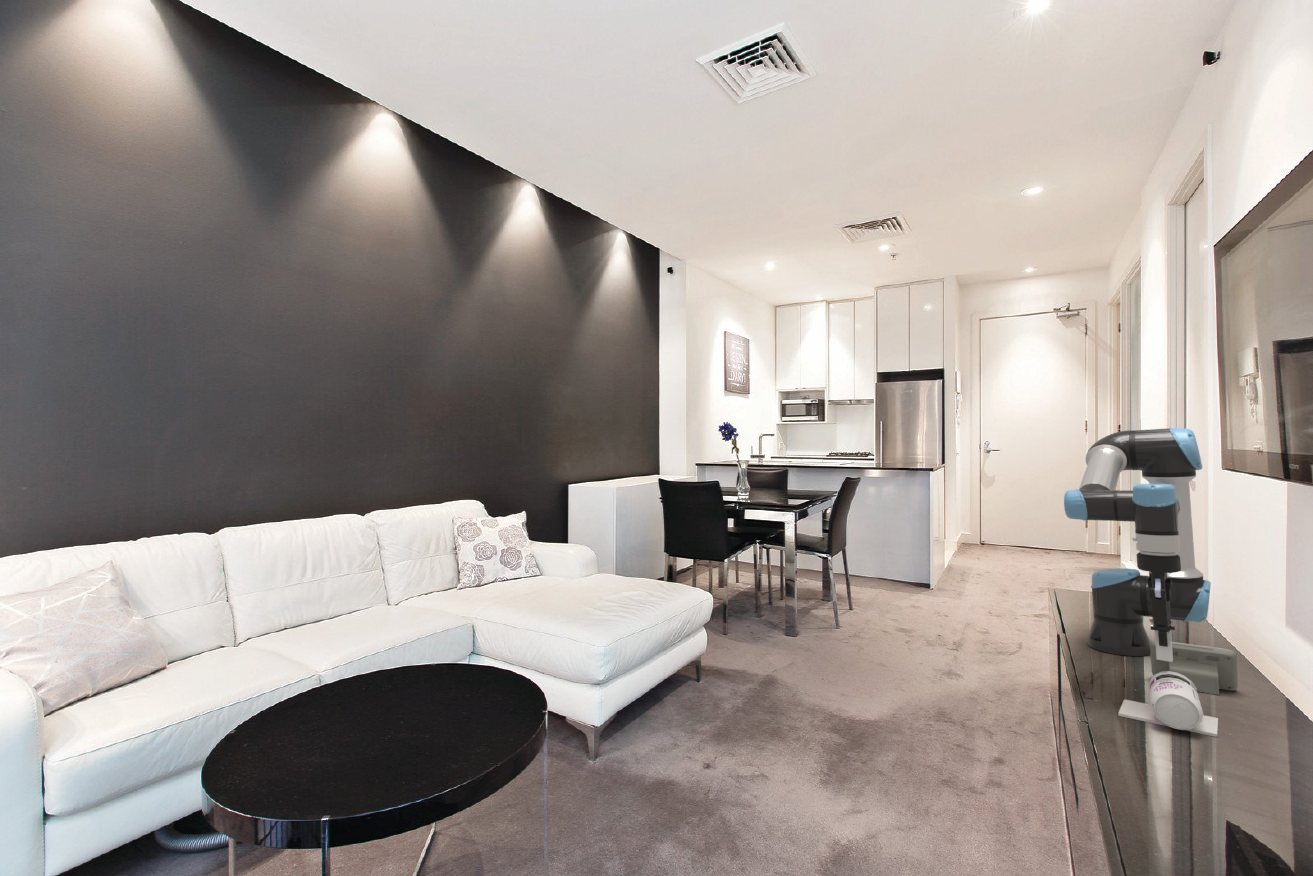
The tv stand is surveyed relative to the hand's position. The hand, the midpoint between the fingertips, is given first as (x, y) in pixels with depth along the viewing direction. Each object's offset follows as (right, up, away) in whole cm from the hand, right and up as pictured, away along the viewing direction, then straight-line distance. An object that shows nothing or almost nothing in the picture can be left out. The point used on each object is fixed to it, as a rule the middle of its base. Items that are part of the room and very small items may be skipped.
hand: (1164, 659), depth 132 cm
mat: (-1, -12, -2) cm, 12 cm away
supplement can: (+4, -7, +2) cm, 9 cm away
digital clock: (+20, -13, +15) cm, 28 cm away
